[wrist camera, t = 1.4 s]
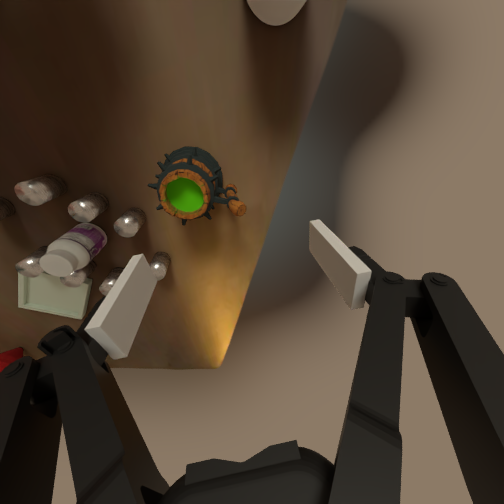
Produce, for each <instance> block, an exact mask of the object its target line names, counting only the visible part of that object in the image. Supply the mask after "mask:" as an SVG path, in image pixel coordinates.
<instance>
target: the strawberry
mask: <svg viewBox="0 0 504 504" xmlns="http://www.w3.org/2000/svg"><path fill="white" fill-rule="evenodd" d="M22 357H23V349H22V348H20V347H19V348H16V349H13V350H9V351H6V352H4V353H1V354H0V372H1V371H2V370H3V369H4V368H5V367H6V366H8V365H9V364H10V363H12V362H14V361H16V360H17V359H19V358H22Z"/></svg>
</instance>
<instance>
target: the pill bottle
mask: <svg viewBox="0 0 504 504" xmlns="http://www.w3.org/2000/svg"><path fill="white" fill-rule="evenodd" d="M106 243H107V236H106V234H105V232H104V231H103V230H102V229H101V228H100V227H98V226H96V225H94V224H91V223H81V224H78V225H76V226H75V227H74V228H72V229H71V230H69V231H68V232H67V233H65V234H64V235H62V236H61V237H59V238H58V239H56V240H55V241H54V242H52V243H51V244H50V245H49V246H48V248H47V253H46V254H45V255H43V256H42V257H41V258H40V261H39V263H40V266H41V268H42V269H43V270H44V271H45V272H47V273H48V274H51V275H53V276H57V277H65V276H68V275H70V274H71V273H73V272H74V271H75V270H78V269H81V268H83V267H85V266H86V265H87V264H88V263H89V262H90V261H91V260H92V259H93V258H94V257H95V256H96V255H97V254H98V253H99V251H100V250H101V249H102V248H103V247H104V246H105V245H106Z"/></svg>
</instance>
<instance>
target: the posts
mask: <svg viewBox="0 0 504 504" xmlns="http://www.w3.org/2000/svg"><path fill="white" fill-rule="evenodd" d="M66 191H67V187H66V184H65V183H64V181H63V180H62V179H60V178H59V177H57V176H55V175H51V174H48V175H44V176H41V177H37V178H34V179H31V180H27V181H24V182H20V183H18V184H16V185H15V193H16V195H17V196H18V198H19V199H20V200H22V201H23V202H25V203H27V204H29V205H33V206H38V205H41V204H43V203H45V202H48V201H50V200H52V199H54V198H56V197H59V196H61V195H63V194H65V193H66ZM108 207H109V202H108V200H107V198H106V197H105V196H104V195H102V194H101V193H98V192H91V193H89V194H87V195H85V196H84V197H82V198H80V199H78V200H76V201H74V202H72V203H71V204H69V206H68V212H69V214H70V215H71V217H72V218H74V219H75V220H77V221H79V222H83V223H87V222H90V221H91V220H93V219H94V218H95V217H97V216H98V215H99V214H101V213H102V212H103V211H105V210H106V209H107V208H108ZM14 213H15V208H14V206H13V204H12V203H11V202H10V201H8V200H7V199H5V198H2V197H0V220H1V219H4V218H6V217H8V216H11V215H13V214H14ZM145 221H146V215H145V213H144V212H143V211H142V210H141V209H139V208H130V209H128V210H127V211H126V212H125V213H124V214H123V215H122V216H121V217H120V218H119V219H118V220H117V221H116V222H115V223H114V229H115V231H116V232H117V233H118V234H119V235H121V236H123V237H132V236H134V235H135V234H136V233H137V231H138V230H139V229H140V227H141V226H142V225H143V224H144V222H145ZM47 248H48V247H47V246H43V247H41V248H39V249H38V250H36V251H35V252H33V253H32V254H30V255H29V256H28V257H26V258H25V259H23V260H22V261H20V262H19V263H17V264H16V270H17V271H18V272H19V273H20V274H21V275H23V276H26V277H30V278H34V277H37V276H39V275H40V274H41V273H42V272H44V270H43V269H42V268H41V266H40V263H39V261H40V258H41V257H42V256H43V255H45V254H46V253H47ZM170 261H171V258H170V256H169V255H168V254H167V253H165V252H157V253H156V254H155V255H154V257H153V259H152V261H151V263H150V265H149V266H150V268H151V270H152V271H153V273H154V275H155V277H156V279H157V280H161V279H163V278H164V277H165V274H166V272H167V269H168V266H169V263H170ZM95 268H96V264H95V262H94V261H93V260H91V261H90V262H89V263H88V264H87V265H86V266H85V267H83V268H81V269H78V270H75V271H74V272H73V273H71V274H70V275H68V276H65V277H60V281H61V282H62V283H63V284H64V285H66V286H68V287H72V288H76V287H79V286H80V285H81V284H82V283H83V282H84V281H85V280H86V278H87V277H88V276H89V275H90V274H91V273H92V272H93V270H94V269H95ZM123 270H124V269H123V268H120V267H117V268H114V269H113V270H112V271H111V272H110V274H109V275H108V276H107V278H106V279H105V280H104V282H103V283H102V284H101V286H100V287H99V290H100V292H101V293H102V294H103V295H105V296H107V294H108V293H109V291H110V290H111V288H112V287H113V285H114V284H115V282H116V281H117V279H118V278H119V276H120V275H121V273H122V272H123Z"/></svg>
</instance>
